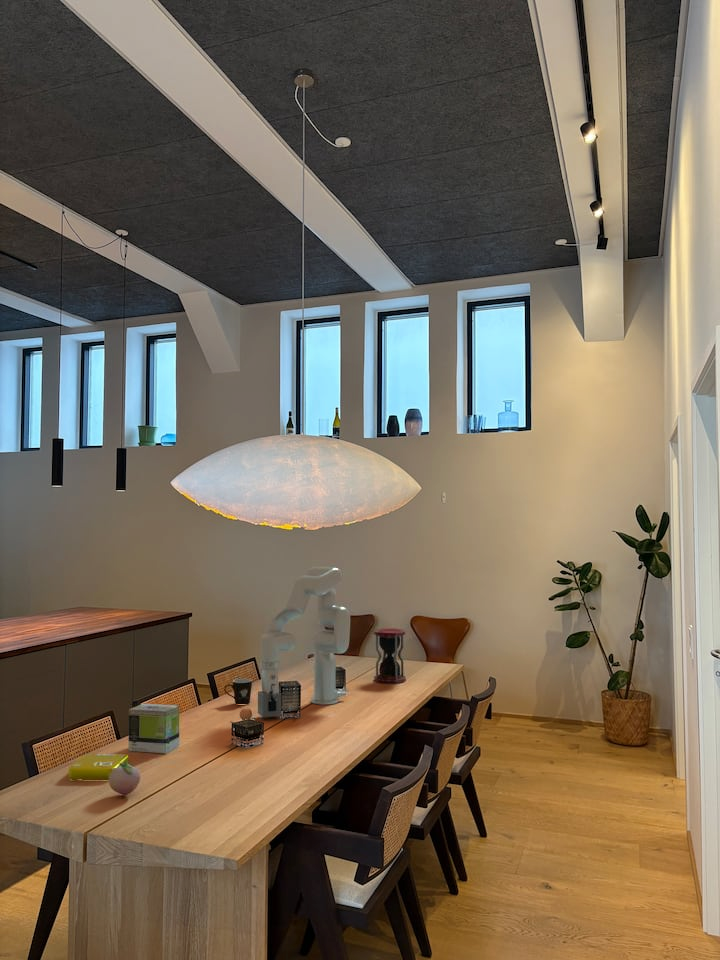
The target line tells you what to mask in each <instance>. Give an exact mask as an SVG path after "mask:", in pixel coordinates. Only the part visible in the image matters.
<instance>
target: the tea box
mask: <svg viewBox="0 0 720 960" xmlns="http://www.w3.org/2000/svg"><path fill="white" fill-rule="evenodd" d="M179 746H180V705H179V704H160V703H157V704H156V703H141V704H139V705H137V706H135V707H132V708H130V709H128V751H130V752H141V753H151V754H152V753H154V754H168V753H170V752H172V751H173V750H175V749H177V748H178V747H179Z"/></svg>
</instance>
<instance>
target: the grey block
mask: <svg viewBox="0 0 720 960" xmlns="http://www.w3.org/2000/svg"><path fill="white" fill-rule="evenodd" d="M270 696H272V695H270ZM268 701H269V695H267V694H266V693H265V692H264V691H263V690H258V691H257V714H258V715H259V716H260V717H261V718H263V719H264V718H270V717H271V718H272V717H282V693H281V692H280V694H279V693H278V694H276V711H268Z"/></svg>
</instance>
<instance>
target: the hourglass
mask: <svg viewBox="0 0 720 960" xmlns="http://www.w3.org/2000/svg"><path fill="white" fill-rule="evenodd" d="M373 635H375V651H376V653H377V655H378V658H377V660H376V662H375V676H373V681H374V682H376V683H378V684H388V685H389V684H390V685H391V684H401V682H402V683H404V681H405V682H406V681H407V679H406V678H407V677H406V676H405V674H404V660H403V658H402V655H401V654H402V650H403V649H404V636H405V635H406V630H405V629H403V628H377V629H374V630H373ZM379 647H380V648H381V650H382V652H383V655H382V653H381V651H380V650H379ZM399 647H400V649H399ZM398 649H399V650H398ZM397 656H398V659H399V660H400V663H399V662H398V661H397ZM381 659H382V661H381ZM380 661H381V662H380Z"/></svg>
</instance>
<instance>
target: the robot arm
mask: <svg viewBox="0 0 720 960" xmlns="http://www.w3.org/2000/svg"><path fill="white" fill-rule="evenodd" d="M342 581H343V573H342V571H341V570H340V569H339V568H337V567H333V566H332V567H331V566H330V567H329V566H312V567H310V568H309V569H308V571H307V575H300V576H298V577H297V578H296V579H295V580H294V583H293V584H292V585H293V586H292V589H291V591H290V593H289V596H288V598H287V601H286V603H285V606H284V607H282V609H280V610H279V611H278V612H277V613H276V614H275V615H274V617H272V618H271V621H269V622H270V623H269V624H268V626H267V629H266V632H265V634H262V636H260V638H259V639H260V640H259V641H260V644H259V647H260V648H259V649H260V654H259V656H260V658H259V661H260V662H259V663H260V665H259V667H260V668H259V669H260V670H261V671H262V672H261V691H264V692H265V693H266V694H267V695H269V701H268V711H276V694H278V693H279V692H280V688H279V687H280V686H279V684H280V683H279V672H278V670H279V668H280V666H279V662H280V660H279V659H280V658H279V656H280V653H279V652H290V651H292V650H293V649H295V647H296V646H297V643H298V642H297V638H296V636H295V635H294V634H292V633H291V632H287V631H282V629H283V628H284V626H286V625H287V623H289V622H291V621H292V620H294V619H297V618H299V617H300V616H303V615H304V614H305V611H306V608H307V606H308V603H309V600H310V597H311V596H312V597H317V603H316V604H317V606H316V623H317V624H318V625H319V626H321V627H326V628H332V629H333V630H329V629H319V630H316V631H315V632H314V633H313V635H312V638H311V646H312V649H313V651H312V652H313V658H314V660H313V661H314V662H313V663H314V665H313V666H314V667H313V672H314V676H313V677H314V680H313V682H314V683H313V684H314V685H313V687H314V688H313V690H314V691H313V692H314V693H313V697H311V698H310V703H312V704H315V705H322V706H323V705H325V706H326V705H334V704H338V703H339V702H340V697H346V696H347V691H341V690H339V691H338V690H336V687H337V685H336V684H337V682H336V669H337V668H336V664H337V663H336V657H335V654H344V653H345V652H347V650H348V649H349V646H350V645H349V644H350V636H351V634H350V633H351V615H350V612H349V610H348V609H347V608H346V607H345V606H337V591H336V589H335V588H337V587H338V586H339V585H340V584H341V583H342ZM270 695H272V696H270Z"/></svg>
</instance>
